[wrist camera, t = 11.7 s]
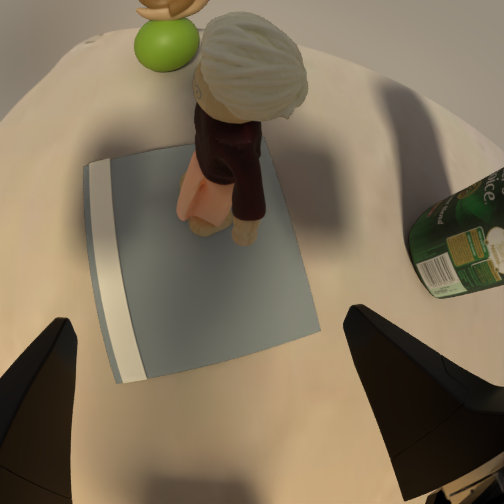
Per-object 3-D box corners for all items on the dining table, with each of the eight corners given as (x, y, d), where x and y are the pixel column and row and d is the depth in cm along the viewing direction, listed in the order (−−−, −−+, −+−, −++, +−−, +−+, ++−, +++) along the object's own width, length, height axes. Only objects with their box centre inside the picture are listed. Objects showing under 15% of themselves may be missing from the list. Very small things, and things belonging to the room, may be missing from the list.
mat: (118, 381, 14) (115, 384, 13) (85, 169, 16) (82, 164, 15) (317, 330, 17) (322, 330, 17) (262, 140, 20) (264, 135, 19)
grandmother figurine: (157, 169, 17) (146, -17, 5) (211, 151, 18) (257, -24, 6) (204, 279, 16) (264, 170, 4) (261, 253, 17) (410, 132, 5)
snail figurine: (205, 84, 20) (233, -41, 8) (130, 85, 18) (122, -40, 7) (208, 50, 21) (232, -55, 9) (142, 50, 19) (144, -55, 8)
